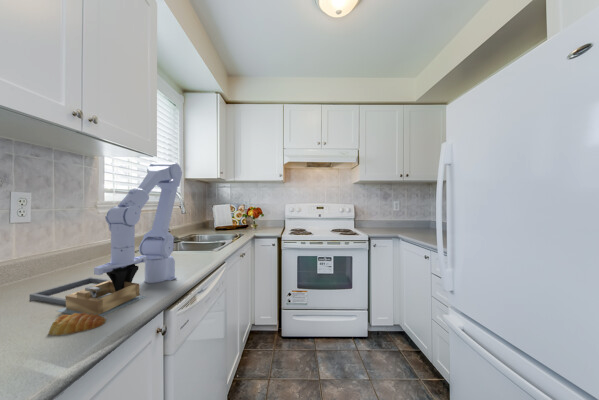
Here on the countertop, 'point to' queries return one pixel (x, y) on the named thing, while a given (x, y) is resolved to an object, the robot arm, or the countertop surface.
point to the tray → (47, 293)
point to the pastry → (75, 323)
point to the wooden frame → (98, 306)
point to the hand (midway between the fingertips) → (122, 291)
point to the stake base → (106, 311)
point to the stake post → (93, 291)
